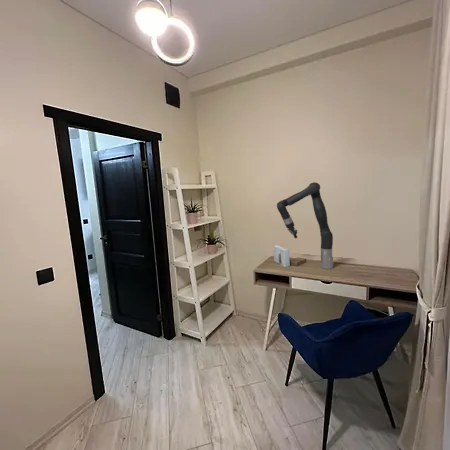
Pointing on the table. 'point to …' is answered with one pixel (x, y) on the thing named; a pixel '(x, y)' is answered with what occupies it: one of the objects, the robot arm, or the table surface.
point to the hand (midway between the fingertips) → (296, 237)
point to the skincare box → (281, 255)
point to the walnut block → (297, 261)
